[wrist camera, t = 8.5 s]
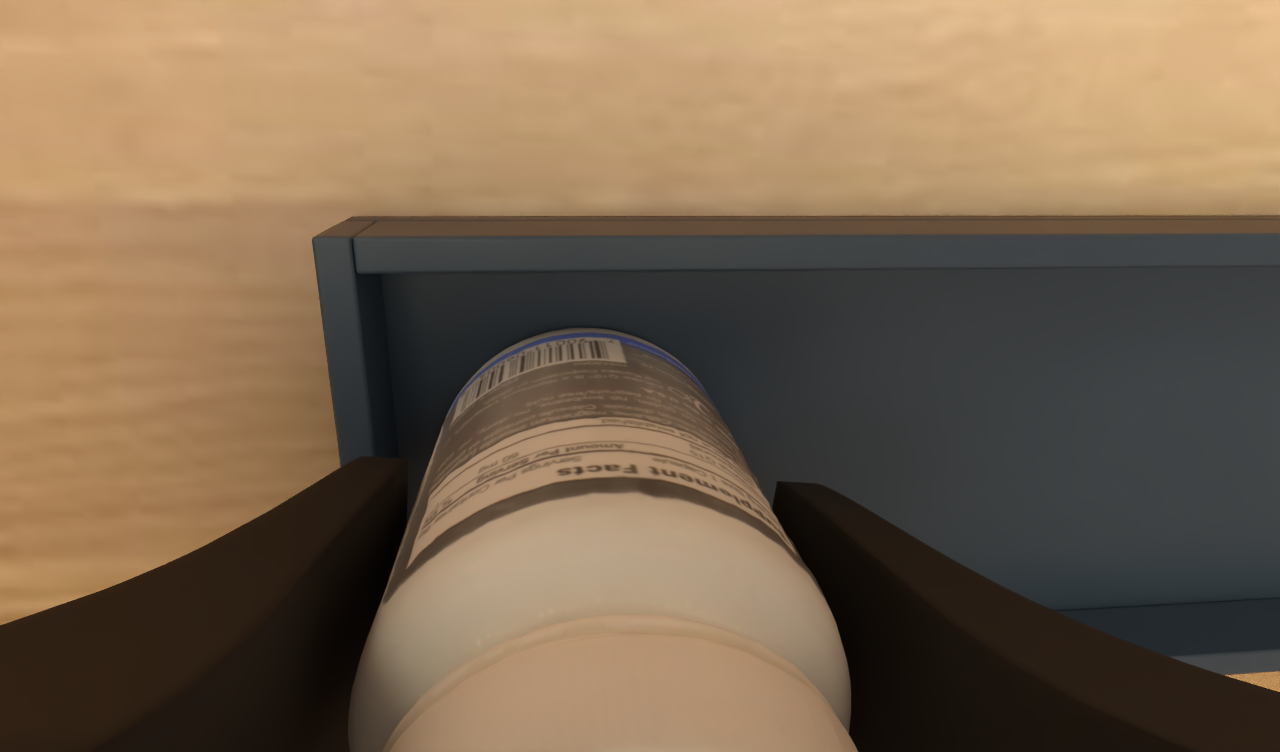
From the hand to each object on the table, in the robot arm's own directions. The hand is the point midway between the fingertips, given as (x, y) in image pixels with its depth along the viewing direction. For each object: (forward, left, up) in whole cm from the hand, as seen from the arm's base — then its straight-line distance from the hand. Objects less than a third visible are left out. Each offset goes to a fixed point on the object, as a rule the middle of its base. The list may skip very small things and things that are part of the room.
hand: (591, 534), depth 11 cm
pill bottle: (0, 0, -2) cm, 3 cm away
